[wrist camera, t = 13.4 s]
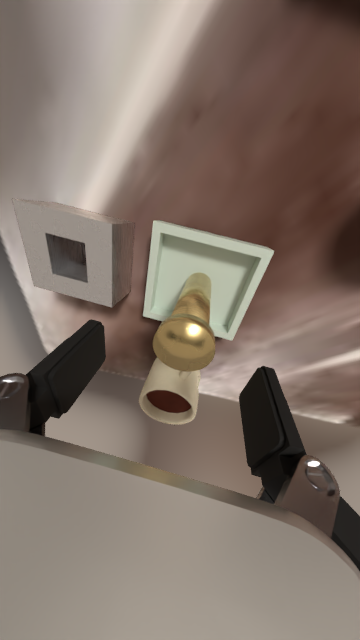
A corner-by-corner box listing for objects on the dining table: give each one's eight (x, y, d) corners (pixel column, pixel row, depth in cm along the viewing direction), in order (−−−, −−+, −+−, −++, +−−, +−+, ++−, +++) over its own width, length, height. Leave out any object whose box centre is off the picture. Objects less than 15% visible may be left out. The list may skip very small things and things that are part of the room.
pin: (186, 265, 24) (157, 314, 12) (219, 273, 24) (224, 332, 11) (179, 295, 26) (149, 362, 14) (209, 303, 26) (204, 377, 14)
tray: (160, 220, 22) (153, 220, 20) (267, 247, 22) (274, 251, 19) (149, 307, 29) (142, 316, 27) (230, 329, 29) (232, 340, 26)
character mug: (187, 367, 35) (174, 437, 24) (155, 352, 34) (126, 416, 23) (217, 329, 29) (218, 397, 18) (179, 309, 29) (157, 367, 17)
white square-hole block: (55, 202, 24) (11, 198, 18) (134, 222, 23) (111, 224, 18) (66, 273, 29) (34, 286, 24) (130, 291, 28) (112, 307, 23)
